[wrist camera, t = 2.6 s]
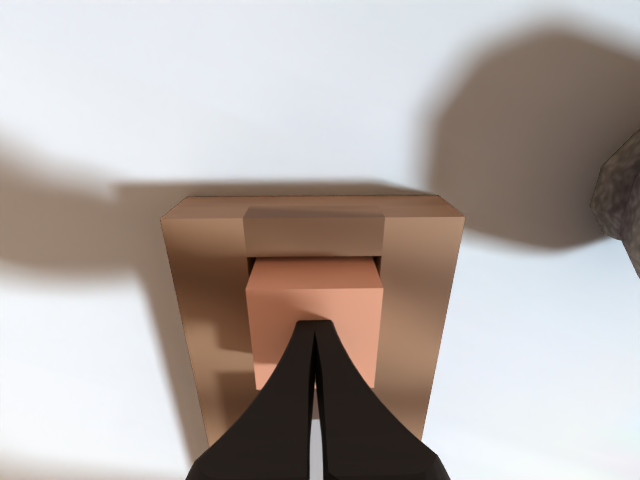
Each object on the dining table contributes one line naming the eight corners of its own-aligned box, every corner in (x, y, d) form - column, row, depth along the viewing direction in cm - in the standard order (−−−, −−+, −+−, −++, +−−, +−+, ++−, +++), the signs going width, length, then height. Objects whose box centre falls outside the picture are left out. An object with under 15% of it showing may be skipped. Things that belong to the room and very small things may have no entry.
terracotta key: (362, 332, 17) (373, 387, 14) (267, 333, 17) (256, 389, 14) (368, 246, 15) (383, 288, 12) (259, 247, 15) (245, 289, 12)
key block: (394, 475, 25) (404, 523, 22) (236, 478, 24) (226, 527, 22) (438, 195, 16) (465, 216, 13) (187, 196, 15) (159, 218, 13)
